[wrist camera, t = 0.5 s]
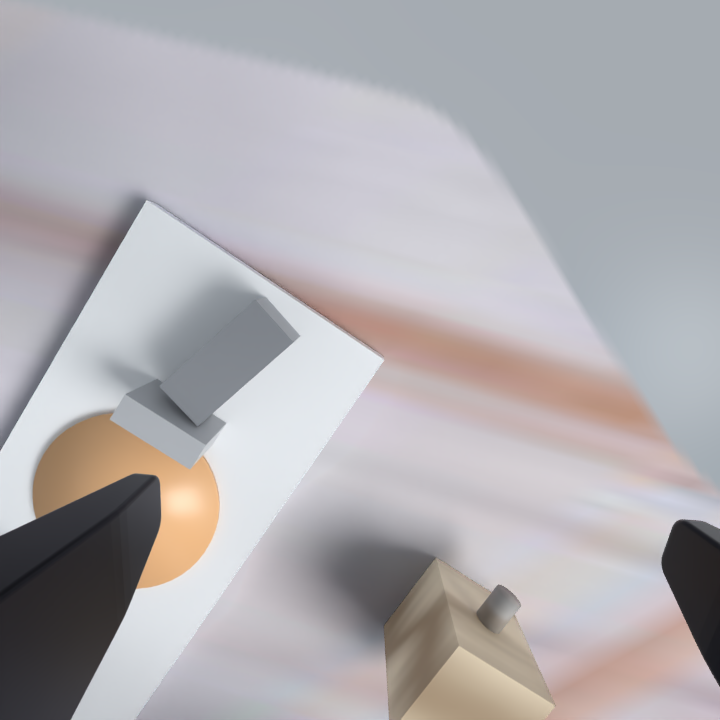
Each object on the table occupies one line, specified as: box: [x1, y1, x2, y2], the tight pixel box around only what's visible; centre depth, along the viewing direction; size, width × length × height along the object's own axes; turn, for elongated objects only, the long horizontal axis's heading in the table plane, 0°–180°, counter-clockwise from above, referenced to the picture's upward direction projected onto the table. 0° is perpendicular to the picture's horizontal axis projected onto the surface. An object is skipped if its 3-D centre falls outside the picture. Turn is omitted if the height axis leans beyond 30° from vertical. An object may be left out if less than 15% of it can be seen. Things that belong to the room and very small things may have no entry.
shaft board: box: [0, 200, 384, 720], centre depth 22 cm, size 24×12×4 cm, turn 146°
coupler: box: [384, 558, 555, 720], centre depth 22 cm, size 8×4×6 cm, turn 146°
